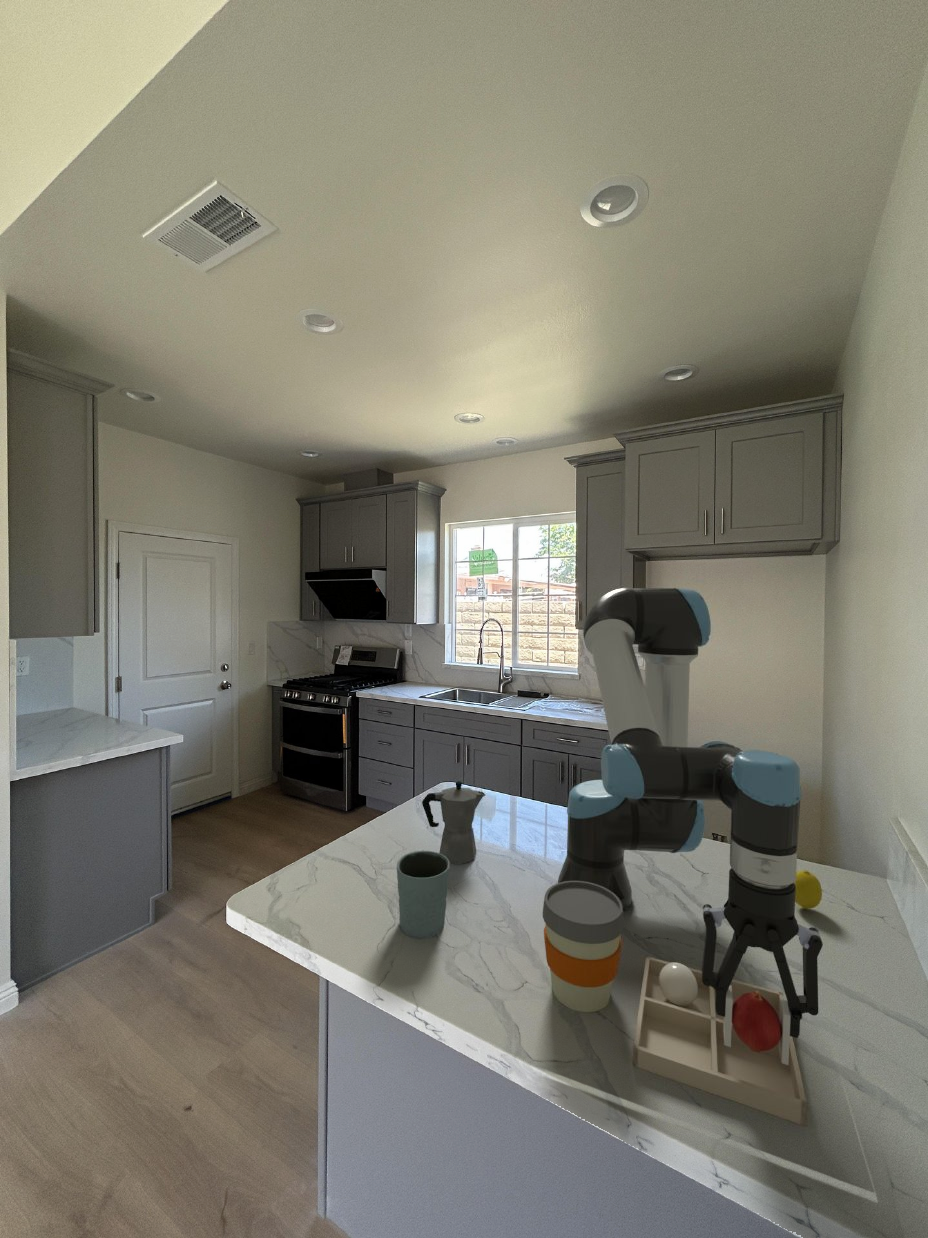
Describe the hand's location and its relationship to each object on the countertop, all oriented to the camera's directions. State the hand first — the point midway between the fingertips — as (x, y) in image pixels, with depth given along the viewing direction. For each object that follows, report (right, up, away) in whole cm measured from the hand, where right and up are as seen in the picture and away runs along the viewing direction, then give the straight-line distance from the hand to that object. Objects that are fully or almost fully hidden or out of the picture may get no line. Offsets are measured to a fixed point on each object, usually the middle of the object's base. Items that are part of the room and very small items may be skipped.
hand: (754, 1046), depth 70 cm
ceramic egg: (-5, -3, +13) cm, 14 cm away
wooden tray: (-3, -4, +6) cm, 8 cm away
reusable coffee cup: (-20, -4, +15) cm, 25 cm away
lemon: (+31, -3, +39) cm, 50 cm away
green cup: (-46, -2, +32) cm, 56 cm away
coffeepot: (-41, -1, +59) cm, 72 cm away
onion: (0, 0, 0) cm, 1 cm away
